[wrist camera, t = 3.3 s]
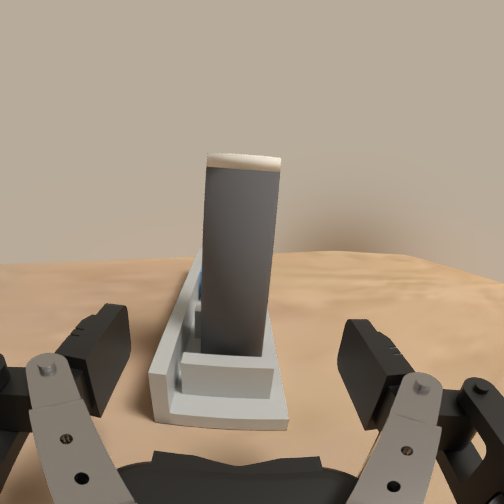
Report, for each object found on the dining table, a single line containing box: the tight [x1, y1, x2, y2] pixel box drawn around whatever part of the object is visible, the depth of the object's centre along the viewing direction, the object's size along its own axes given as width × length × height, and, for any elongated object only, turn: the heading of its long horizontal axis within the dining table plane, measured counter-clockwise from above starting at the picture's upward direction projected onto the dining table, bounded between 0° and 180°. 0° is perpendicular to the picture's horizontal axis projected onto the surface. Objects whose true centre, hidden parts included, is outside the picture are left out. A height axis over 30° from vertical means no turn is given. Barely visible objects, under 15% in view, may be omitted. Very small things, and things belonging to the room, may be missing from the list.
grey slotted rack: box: [148, 247, 289, 430], centre depth 29 cm, size 8×26×4 cm, turn 2°
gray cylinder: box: [201, 153, 281, 357], centre depth 20 cm, size 4×4×14 cm
